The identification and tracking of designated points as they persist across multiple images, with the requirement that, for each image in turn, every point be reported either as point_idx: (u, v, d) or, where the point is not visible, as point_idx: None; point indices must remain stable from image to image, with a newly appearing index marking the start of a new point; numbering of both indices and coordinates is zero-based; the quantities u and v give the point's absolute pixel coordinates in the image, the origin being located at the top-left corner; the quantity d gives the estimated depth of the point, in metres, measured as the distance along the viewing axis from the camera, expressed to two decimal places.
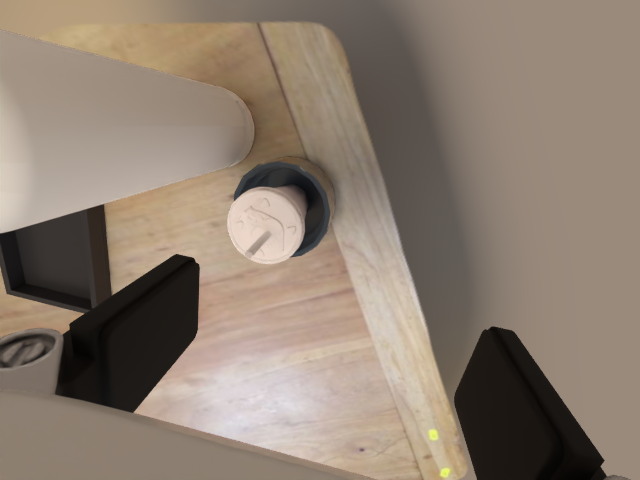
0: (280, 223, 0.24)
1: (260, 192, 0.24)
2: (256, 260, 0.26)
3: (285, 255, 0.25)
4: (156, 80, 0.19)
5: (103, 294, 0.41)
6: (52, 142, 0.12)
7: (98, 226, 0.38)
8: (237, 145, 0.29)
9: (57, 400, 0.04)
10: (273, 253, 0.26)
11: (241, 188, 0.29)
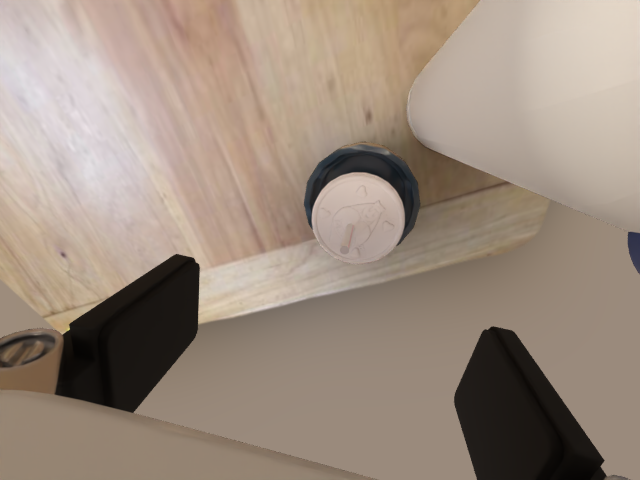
0: (363, 242, 0.21)
1: (401, 222, 0.21)
2: (315, 208, 0.21)
3: (324, 243, 0.22)
4: None
5: None
6: None
7: None
8: None
9: (57, 400, 0.04)
10: (325, 229, 0.22)
11: (390, 158, 0.24)
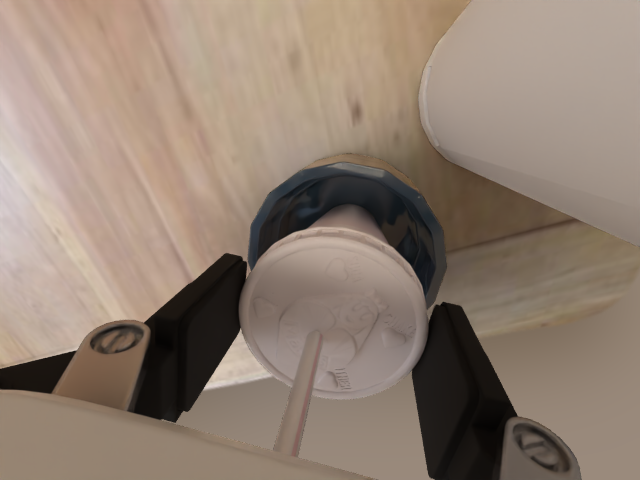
0: None
1: (420, 332, 0.10)
2: (244, 299, 0.10)
3: (266, 361, 0.11)
4: None
5: None
6: None
7: None
8: None
9: (57, 400, 0.04)
10: (268, 337, 0.11)
11: (394, 187, 0.13)
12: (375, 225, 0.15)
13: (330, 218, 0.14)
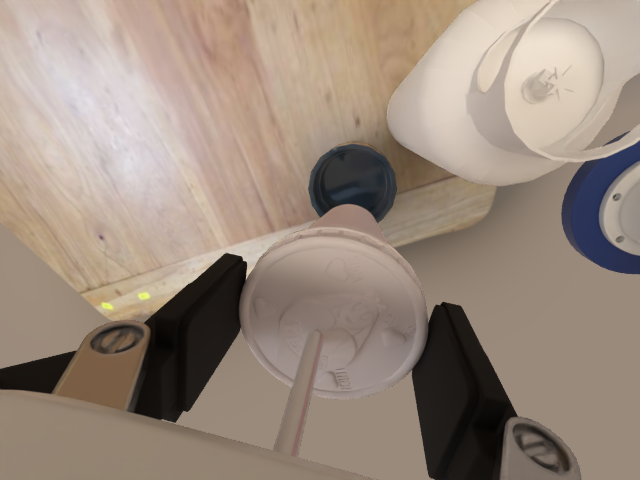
0: None
1: (420, 332, 0.10)
2: (244, 299, 0.10)
3: (267, 361, 0.11)
4: None
5: None
6: None
7: None
8: None
9: (57, 400, 0.04)
10: (268, 337, 0.11)
11: (374, 154, 0.32)
12: (375, 225, 0.15)
13: (330, 218, 0.14)
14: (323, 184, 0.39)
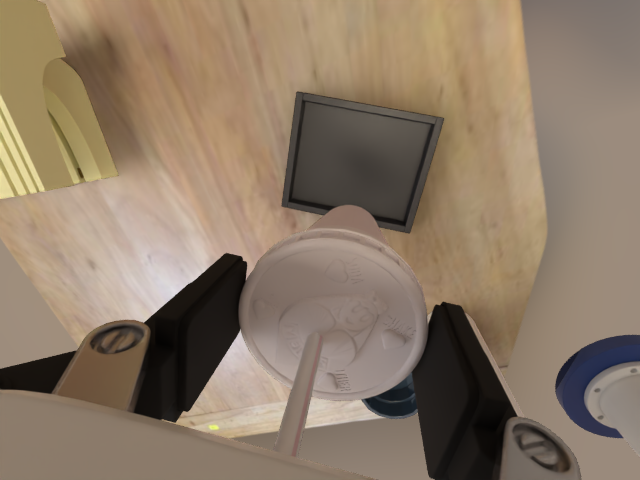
0: (343, 366, 0.11)
1: (420, 334, 0.10)
2: (244, 301, 0.10)
3: (266, 363, 0.11)
4: None
5: None
6: None
7: None
8: None
9: (57, 400, 0.04)
10: (267, 338, 0.11)
11: (411, 375, 0.43)
12: (375, 226, 0.15)
13: (330, 219, 0.14)
14: None
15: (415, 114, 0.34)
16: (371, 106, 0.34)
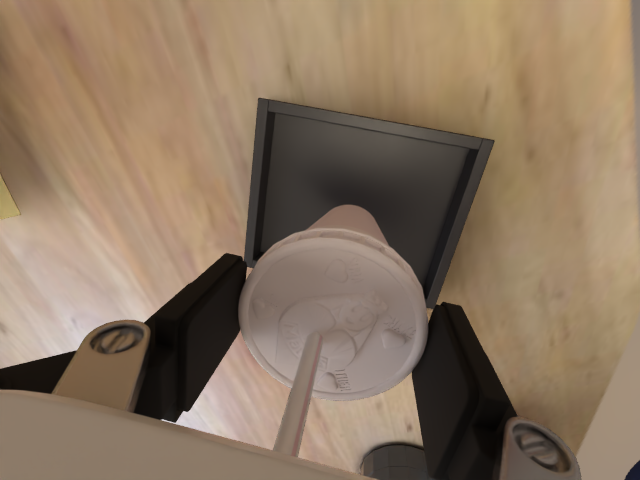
0: (343, 366, 0.11)
1: (420, 333, 0.10)
2: (244, 301, 0.10)
3: (266, 362, 0.11)
4: None
5: None
6: None
7: None
8: None
9: (57, 400, 0.04)
10: (267, 338, 0.11)
11: None
12: (375, 226, 0.15)
13: (330, 219, 0.14)
14: None
15: (447, 134, 0.21)
16: (376, 121, 0.22)
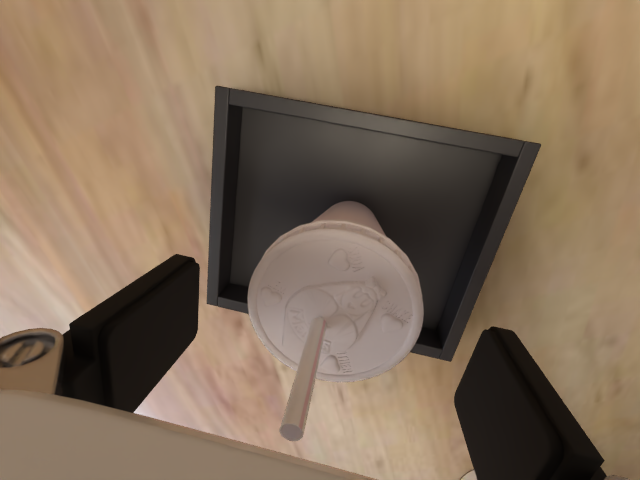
0: None
1: (416, 317, 0.11)
2: (253, 288, 0.11)
3: (273, 346, 0.12)
4: None
5: None
6: None
7: None
8: None
9: (57, 400, 0.04)
10: (274, 323, 0.12)
11: None
12: (374, 220, 0.16)
13: (332, 213, 0.14)
14: None
15: (475, 135, 0.15)
16: (377, 117, 0.16)
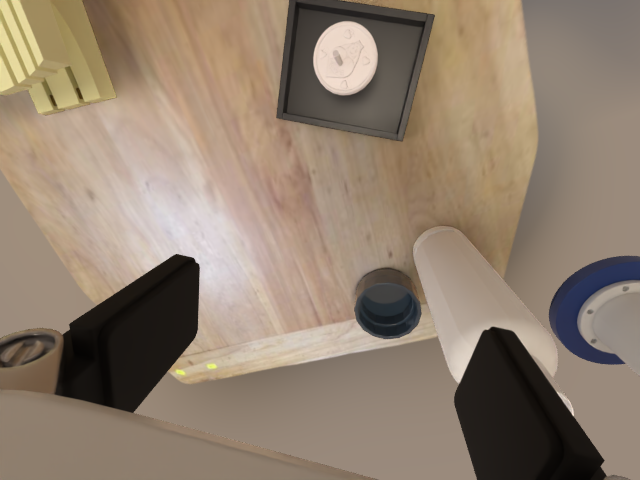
0: (349, 74, 0.31)
1: (374, 57, 0.30)
2: (316, 50, 0.30)
3: (322, 78, 0.31)
4: None
5: None
6: None
7: None
8: None
9: (57, 400, 0.04)
10: (323, 67, 0.31)
11: (405, 290, 0.43)
12: None
13: None
14: (362, 296, 0.50)
15: (406, 12, 0.35)
16: (363, 5, 0.35)
